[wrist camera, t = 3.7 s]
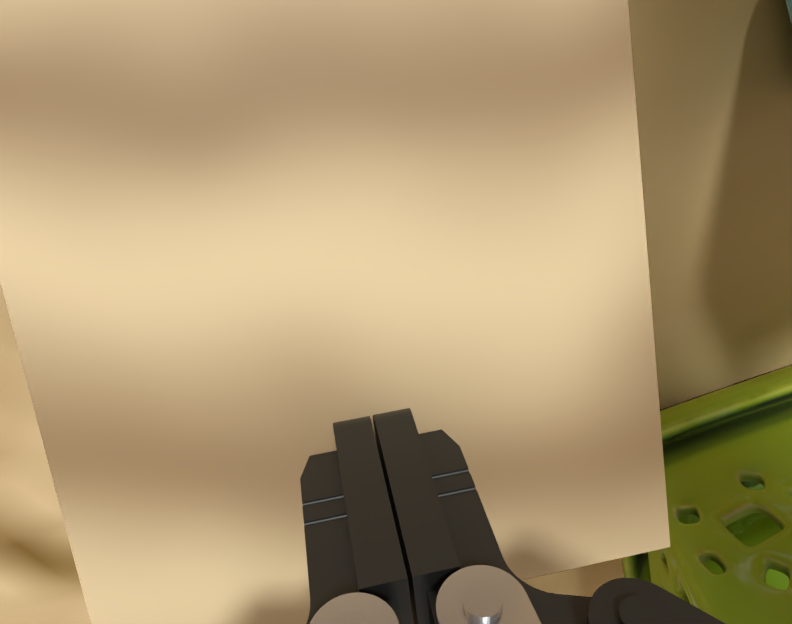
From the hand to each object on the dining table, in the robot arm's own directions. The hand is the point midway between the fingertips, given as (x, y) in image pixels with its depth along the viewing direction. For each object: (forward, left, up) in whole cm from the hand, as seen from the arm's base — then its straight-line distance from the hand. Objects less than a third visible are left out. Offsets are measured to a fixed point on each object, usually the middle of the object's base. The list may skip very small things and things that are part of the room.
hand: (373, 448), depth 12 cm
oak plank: (-6, 0, -5) cm, 8 cm away
